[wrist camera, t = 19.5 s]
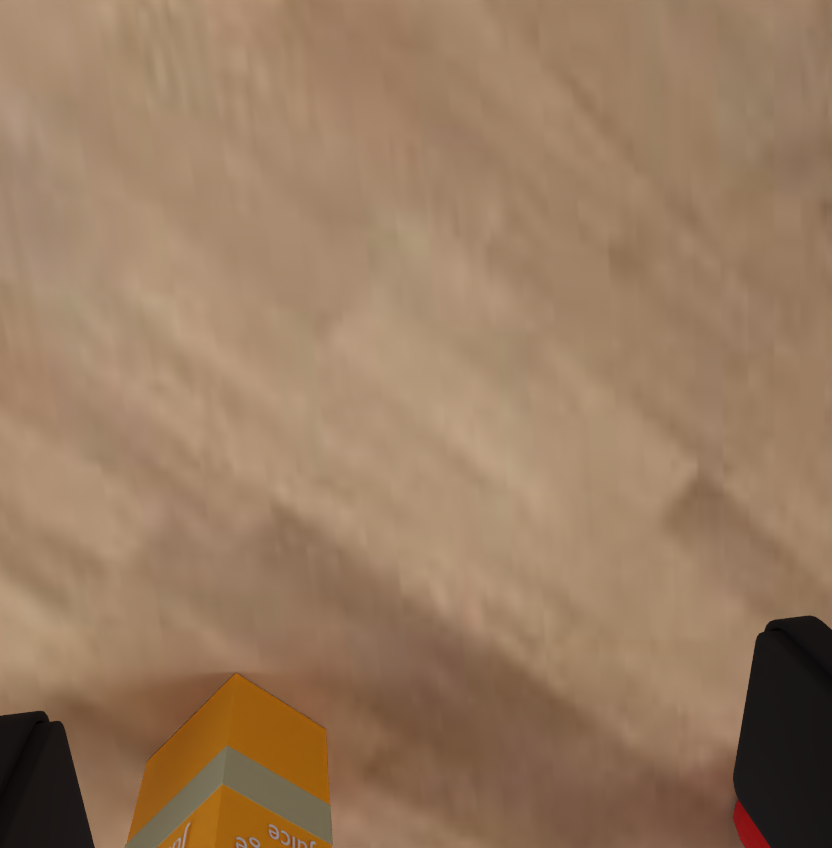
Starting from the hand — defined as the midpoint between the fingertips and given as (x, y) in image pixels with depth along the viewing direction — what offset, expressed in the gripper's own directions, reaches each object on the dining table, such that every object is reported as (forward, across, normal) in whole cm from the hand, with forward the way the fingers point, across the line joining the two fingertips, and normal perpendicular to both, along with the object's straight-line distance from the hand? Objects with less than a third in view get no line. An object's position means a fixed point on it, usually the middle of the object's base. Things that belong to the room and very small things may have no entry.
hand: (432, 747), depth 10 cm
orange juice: (+31, +8, +28) cm, 42 cm away
